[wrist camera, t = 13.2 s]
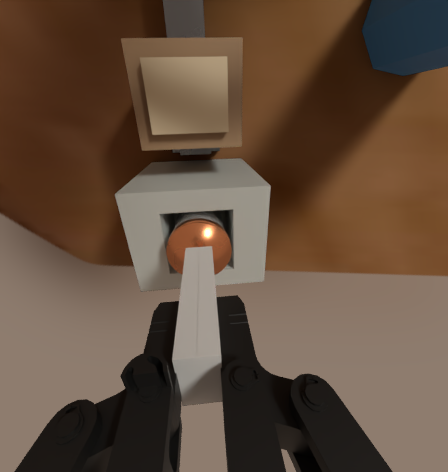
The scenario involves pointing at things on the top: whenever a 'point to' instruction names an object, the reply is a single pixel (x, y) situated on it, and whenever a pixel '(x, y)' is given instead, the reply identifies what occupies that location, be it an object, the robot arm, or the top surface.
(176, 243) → the plunger
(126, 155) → the top surface
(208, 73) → the block
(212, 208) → the white box
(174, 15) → the rail
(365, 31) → the water bottle
